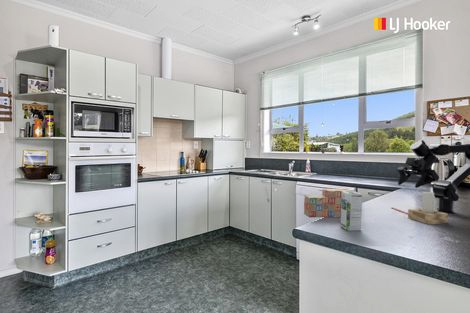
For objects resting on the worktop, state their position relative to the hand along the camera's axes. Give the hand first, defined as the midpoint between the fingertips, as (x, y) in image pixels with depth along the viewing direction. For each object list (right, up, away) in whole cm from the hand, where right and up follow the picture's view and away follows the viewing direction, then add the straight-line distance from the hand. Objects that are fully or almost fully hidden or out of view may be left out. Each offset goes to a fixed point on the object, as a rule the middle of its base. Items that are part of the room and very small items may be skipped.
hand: (406, 185), depth 127 cm
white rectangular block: (+1, -14, -12) cm, 19 cm away
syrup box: (-39, -14, -25) cm, 49 cm away
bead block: (+1, -14, -12) cm, 19 cm away
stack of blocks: (-41, -14, -6) cm, 44 cm away
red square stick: (-1, -13, +3) cm, 14 cm away
